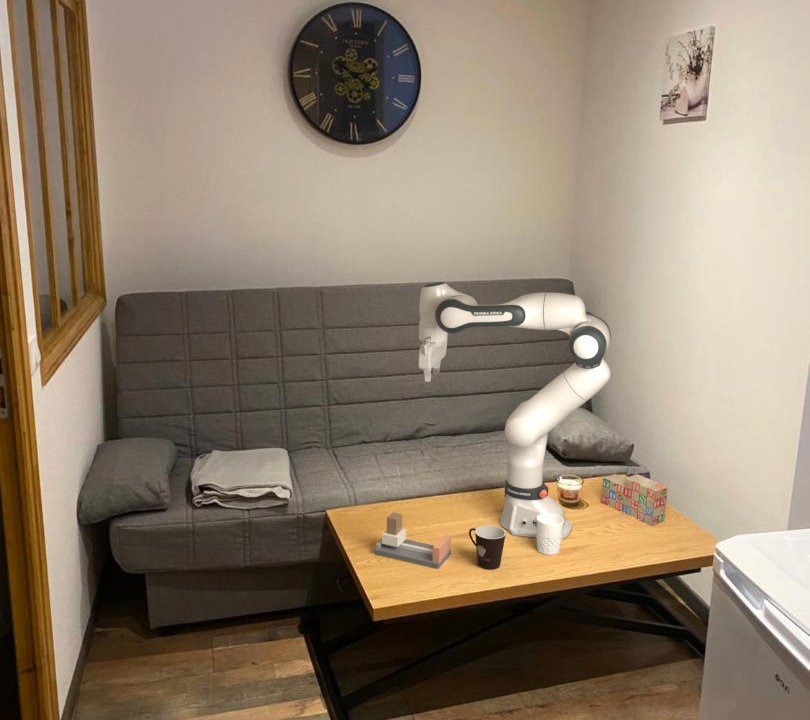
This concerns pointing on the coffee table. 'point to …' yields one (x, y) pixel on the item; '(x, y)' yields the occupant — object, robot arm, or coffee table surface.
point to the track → (417, 552)
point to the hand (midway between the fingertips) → (432, 377)
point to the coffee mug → (489, 546)
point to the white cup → (549, 533)
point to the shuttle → (394, 530)
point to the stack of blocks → (636, 497)
